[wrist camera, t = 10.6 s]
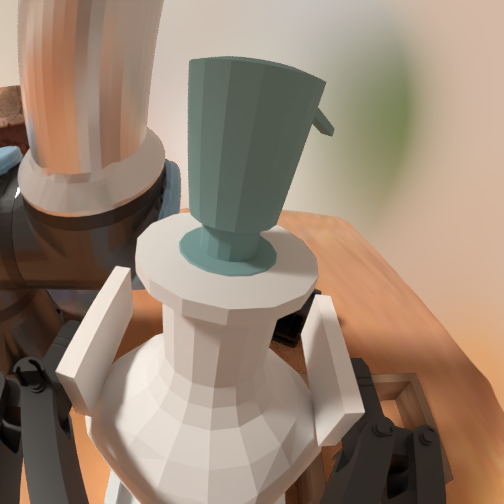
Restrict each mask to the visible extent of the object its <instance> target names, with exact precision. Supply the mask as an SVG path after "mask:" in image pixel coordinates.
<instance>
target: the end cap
mask: <svg viewBox="0 0 504 504" xmlns="http://www.w3.org/2000/svg"><path fill="white" fill-rule="evenodd" d="M316 294H317V295H321V291H319V290H317V289H314V291H313V292H312V294H311V295H310V296H309V298H308V299H307V301H306V302H305V303H304V305H303V306H302V307H301V309H300V310H298V311H295V312H293V313H291V314H289V315H286V316H284V317H282V318H280V319H277V322H276V325H275V329H274V332H273V335H272V340H274V341H277V342H279V343H282V344H284V345H287V346H289V347H296V346H297V343H298V341H299V339H300V337H301V333H302V330H303V328H304V325H305V322H306V319H307V317H308V314H309V311H310V309H311V306H312V303H313V300H314V297H315V295H316Z"/></svg>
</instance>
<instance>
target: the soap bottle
mask: <svg viewBox="0 0 504 504" xmlns="http://www.w3.org/2000/svg"><path fill="white" fill-rule="evenodd" d="M188 82H189V83H188V177H189V178H188V179H189V208H190V212H187V213H181V214H174V215H171V216H169V217H166V218H164V219H162V220H159V221H157V222H154V223H152V224H151V225H150V226H149V227H148V228H147V229H146V230H145V231H144V232H143V233H142V234H141V235H140V236H139V237H138V238H137V246H136V255H135V264H136V273H137V275H138V277H139V278H140V280H141V282H142V283H143V285H144V286H145V288H146V290H147V291H148V293H149V294H150V295H151V296H152V297H154V298H155V299H157V300H159V301H160V302H162V303H163V333H161V334H159V335H156V336H154V337H152V338H151V339H149V340H147V341H146V342H144V343H142V344H141V345H139V346H138V347H136V348H134V349H133V350H131V351H129V352H128V353H126V354H124V355H123V356H121V357H119V358H118V359H117V360H116V361H115V362H114V363H113V364H112V366H111V368H110V371H109V373H108V376H107V379H106V381H105V383H104V385H103V388H102V392H101V395H100V398H99V400H98V403H97V406H96V409H95V412H94V415H93V418H92V417H89V416H86V415H85V419H86V427H87V434H88V435H89V437H90V439H91V440H92V442H93V443H94V445H95V446H96V448H97V449H98V451H99V452H100V454H101V455H102V457H103V458H104V460H105V461H106V463H107V464H108V465H109V467H110V468H111V470H112V471H113V472H114V474H115V475H116V476H117V477H118V479H119V480H120V481H121V482H122V484H123V485H124V486H125V487H126V488H127V489H128V491H129V492H130V493H131V494H132V495H133V496H134V497H135V499H136V500H137V501H138V502H139V503H140V504H274V503H275V502H276V501H277V500H278V499H279V498H280V497H281V496H282V495H283V494H284V493H285V492H286V490H287V489H288V488H289V487H290V486H291V485H292V484H293V483H294V482H295V481H296V480H297V479H298V477H299V476H300V475H301V474H302V473H303V472H304V471H305V470H306V468H307V467H308V466H309V465H310V464H311V463H312V461H313V460H314V459H315V458H316V457H317V455H318V454H319V453H320V452H321V450H322V446H318V441H317V434H316V427H315V420H314V413H313V403H312V400H311V393H310V390H309V389H308V387H307V385H306V384H305V382H304V381H303V379H302V377H301V376H300V374H299V373H298V372H297V371H295V370H294V369H293V368H292V367H291V366H290V365H288V364H287V363H286V362H285V361H284V360H283V359H281V358H280V357H279V356H278V355H277V354H276V353H275V352H273V351H272V350H271V349H270V348H269V345H270V342H271V339H272V335H273V332H274V329H275V325H276V322H277V319H280V318H282V317H284V316H286V315H289V314H291V313H293V312H295V311H298V310H300V309H301V307H302V306H303V305H304V303H305V302H306V301H307V299H308V298H309V296H310V295H311V294H312V292H313V291H314V288H315V285H316V282H317V279H318V267H317V258H316V257H315V255H314V254H313V253H312V251H311V250H310V249H309V248H308V246H307V245H306V244H305V243H304V241H302V240H301V239H299V238H298V237H296V236H295V235H293V234H292V233H290V232H289V231H287V230H286V229H284V228H283V227H280V226H278V225H276V224H277V221H278V219H279V216H280V213H281V210H282V207H283V205H284V202H285V199H286V196H287V193H288V190H289V188H290V185H291V182H292V179H293V177H294V174H295V171H296V168H297V165H298V162H299V160H300V157H301V154H302V151H303V148H304V145H305V142H306V139H307V137H308V134H309V131H310V128H311V125H312V124H313V125H314V126H315V127H316V128H317V129H318V130H319V131H320V132H321V133H322V134H325V135H328V136H333V132H334V128H333V126H332V125H331V124H330V122H329V121H328V119H327V118H326V117H325V116H324V114H323V113H322V112H321V110H320V109H319V108H318V105H319V102H320V99H321V96H322V94H323V91H324V87H325V85H326V82H325V81H323V80H321V79H319V78H317V77H315V76H313V75H311V74H308V73H306V72H303V71H301V70H299V69H296V68H294V67H291V66H288V65H284V64H281V63H276V62H271V61H266V60H261V59H254V58H246V57H233V56H232V57H231V56H225V57H211V58H200V59H192V60H190V61H189V81H188Z"/></svg>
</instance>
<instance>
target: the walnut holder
mask: <svg viewBox="0 0 504 504" xmlns="http://www.w3.org/2000/svg"><path fill="white" fill-rule="evenodd" d="M299 374H300V376H301V377H302V379H303V381H304V382H305V384H306V385H307V387H308V389H309V390H310V387H309V381H308V374H307V373H299ZM371 376H372V377H371V379H372V380H373V383H374V386H375V389H376V392H377V395H378V398H379V401H380V400H394V399H395V400H396V403H397V406H398V409H399V412H400V415H401V418H402V421H403V424H404V427H405V429H410V430H414V429H415V428H417V427H418V426H420V425H424V424H425V425H430V426H431V427H433V428H434V429H435V430H436V431H437V433H438V430H437V427H436V425H435V422H434V419H433V417H432V414H431V411H430V409H429V406H428V403H427V401H426V398H425V396H424V393H423V391H422V388H421V386H420V383H419V381H418V379H417V376H416V374H415V373H407V374H376V375H371ZM438 435H439V433H438ZM439 439H440V436H439ZM440 446H441V453H442V461H443V470H444V480H445V484H447V483H448V482H450V481H452V480H453V476H452V473H451V469H450V466H449V463H448V460H447V457H446V454H445V450H444V448H443V445H442V442H441V439H440ZM297 488H298V501H299V504H319V502H320V500H321V498H322V495H323V493H324V491H325V488H326V484H325V476H324V468H323V461H322V453H321V452H320V453H319V454H318V455H317V457H316V458H315V459H314V460H313V461H312V463H311V464H310V465H309V466H308V467H307V468H306V470H305V471H304V472H303V473H302V474H301V475H300V476H299V477H298V479H297ZM380 503H381V501H380Z"/></svg>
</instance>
